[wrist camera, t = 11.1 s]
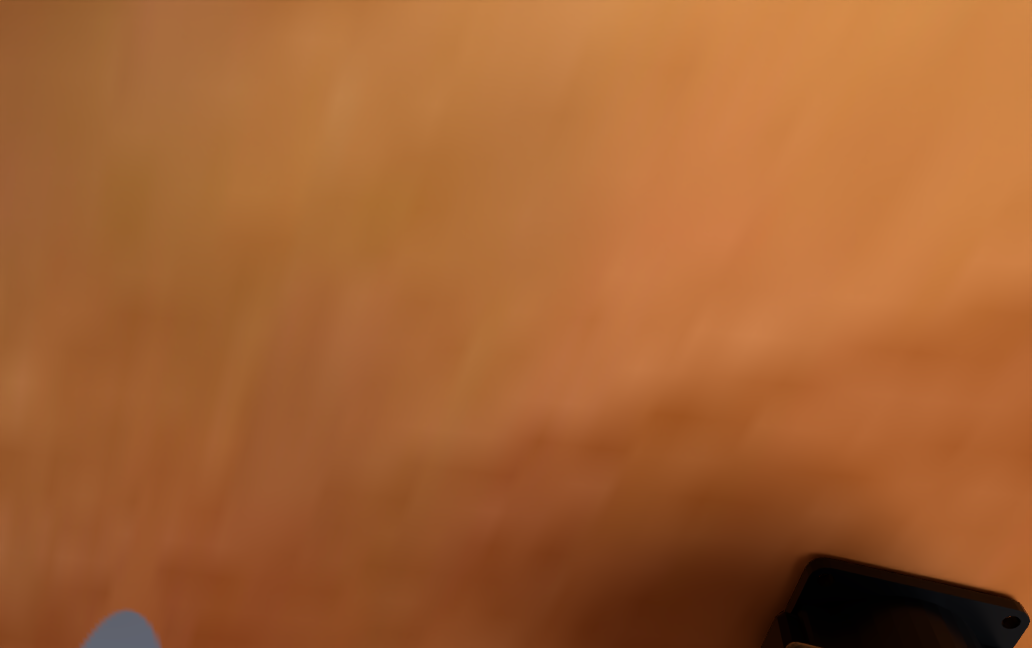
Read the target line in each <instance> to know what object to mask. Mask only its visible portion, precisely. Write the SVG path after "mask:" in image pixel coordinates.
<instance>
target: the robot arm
mask: <svg viewBox="0 0 1032 648" xmlns="http://www.w3.org/2000/svg"><path fill="white" fill-rule="evenodd" d="M822 574H829V575H828V576H825V577H819V576H820V575H822ZM1009 616H1011V617H1009ZM1006 617H1008V618H1006ZM1029 623H1030V619H1029V616H1028V614H1027V612H1026V611H1025V609H1024V607H1023V606H1022V605H1021V604H1020V603H1019V602H1017V601H1015V600H1011V599H1007V598H1002V597H998V596H993V595H989V594H985V593H980V592H976V591H971V590H967V589H962V588H958V587H954V586H949V585H945V584H940V583H936V582H932V581H927V580H923V579H918V578H914V577H909V576H905V575H901V574H896V573H892V572H887V571H883V570H879V569H874V568H870V567H865V566H861V565H856V564H852V563H848V562H843V561H839V560H834V559H830V558H818V559H815V560H813V561H811V562H809V564H808V565H807V566H806V568H805V570H804V572H803V574H802V576H801V578H800V580H799V582H798V584H797V586H796V589H795V591H794V593H793V595H792V597H791V599H790V601H789V603H788V605H787V607H786V609H785V611H784V612H781V613H780V614H779V615H778V616H776V617H775V619H774V621H773V624H772V626H771V628H770V630H769V632H768V634H767V636H766V638H765V640H764V642H763V644H762V646H761V648H1013V647H1014V646H1015V645H1016V643H1017V642H1018V640H1019V639H1020V637H1021V636H1022V634H1023V633H1024V632H1025V630H1026V629H1027V627H1028V625H1029Z"/></svg>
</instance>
